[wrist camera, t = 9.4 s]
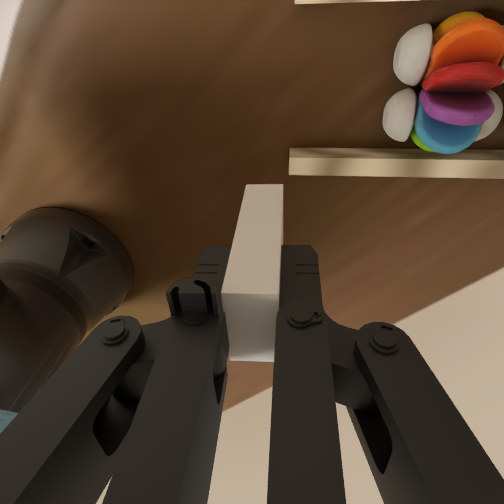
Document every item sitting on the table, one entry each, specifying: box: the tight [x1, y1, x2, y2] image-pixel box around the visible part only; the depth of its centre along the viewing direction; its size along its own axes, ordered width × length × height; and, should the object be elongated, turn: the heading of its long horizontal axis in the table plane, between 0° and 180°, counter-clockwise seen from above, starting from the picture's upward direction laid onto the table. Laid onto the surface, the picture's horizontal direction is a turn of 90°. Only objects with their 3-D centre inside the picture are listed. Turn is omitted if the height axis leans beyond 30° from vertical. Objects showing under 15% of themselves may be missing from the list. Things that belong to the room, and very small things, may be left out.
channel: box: [289, 0, 504, 179], centre depth 27 cm, size 21×14×5 cm
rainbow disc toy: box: [383, 11, 504, 154], centre depth 26 cm, size 8×10×7 cm
